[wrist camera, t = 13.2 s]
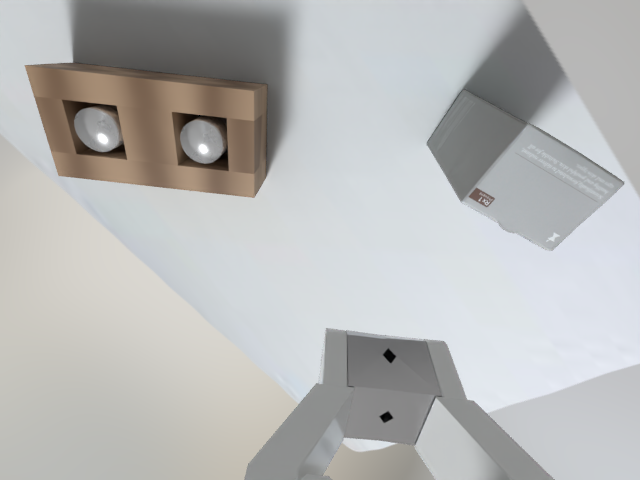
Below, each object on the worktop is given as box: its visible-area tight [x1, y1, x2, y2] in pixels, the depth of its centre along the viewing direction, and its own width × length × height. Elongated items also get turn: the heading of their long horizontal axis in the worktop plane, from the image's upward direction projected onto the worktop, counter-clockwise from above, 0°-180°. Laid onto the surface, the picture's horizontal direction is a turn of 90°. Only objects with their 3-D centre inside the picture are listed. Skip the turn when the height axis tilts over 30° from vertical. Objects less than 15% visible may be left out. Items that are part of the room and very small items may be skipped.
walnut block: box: [25, 63, 267, 198], centre depth 34 cm, size 20×10×6 cm, turn 85°
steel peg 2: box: [180, 115, 228, 163], centre depth 34 cm, size 4×4×6 cm
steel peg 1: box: [74, 104, 124, 152], centre depth 34 cm, size 4×4×6 cm
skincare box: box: [427, 90, 624, 251], centre depth 29 cm, size 8×7×16 cm
